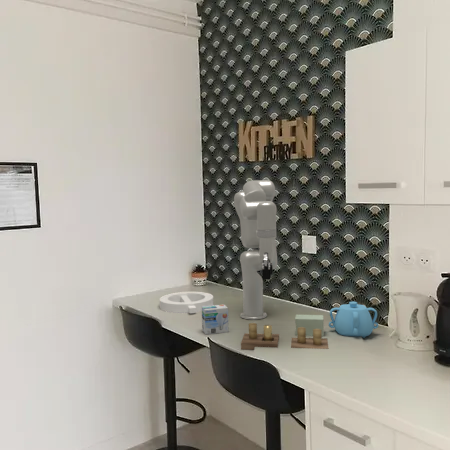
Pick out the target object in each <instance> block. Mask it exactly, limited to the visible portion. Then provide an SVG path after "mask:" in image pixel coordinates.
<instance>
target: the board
mask: <svg viewBox="0 0 450 450" xmlns="http://www.w3.org/2000/svg"><path fill="white" fill-rule="evenodd" d="M290 349H315V350H316V349H318V350H319V349H320V350H321V349H322V350H328V349H330V348H329V342H328V338H324V337H323V336H322V330H321V329H313V336H312V337H307V336H306V328H304V327H298V328H297V336H296V337H291V339H290Z"/></svg>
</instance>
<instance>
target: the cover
mask: <svg viewBox="0 0 450 450" xmlns="http://www.w3.org/2000/svg"><path fill="white" fill-rule="evenodd" d="M294 320H295V322H294V323H295V328H294V329H295V336H296V337H297V328H298V327H304V328H306V337H313V329H321V330H322V337H324V335H325V334H324V333H325V332H324V331H325V330H324V329H325V328H324V326H325V325H324V315H323V314H295V318H294Z"/></svg>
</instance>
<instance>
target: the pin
mask: <svg viewBox="0 0 450 450" xmlns="http://www.w3.org/2000/svg"><path fill="white" fill-rule="evenodd" d="M263 334H264V341H272V334H273V325H272V324H264V325H263Z"/></svg>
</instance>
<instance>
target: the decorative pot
mask: <svg viewBox="0 0 450 450" xmlns="http://www.w3.org/2000/svg"><path fill="white" fill-rule="evenodd" d="M334 311H336V314H335V316H333V312H334ZM369 311H373V312H374V317H372V316H371V313H370V312H369ZM329 316H330V320H331V321H329V322H328V326H329V328H331V329H335V331H336V332H337V334H339V335H341V336H345V337H361V338H363V339H366V337H368V336H370V335H372V332H373V330H375V329H378V328H379V323H378V322H377V321H376V320H377V318H378V311H377V310H376V308H373V307H366V306H365V305H363V304H359V303H358V302H357V301H349V302H348V304H347V303H346V304H345V303H344V304H341V305H340V306H339V307H333V308H331V309H330V310H329ZM372 318H373V319H372Z"/></svg>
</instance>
